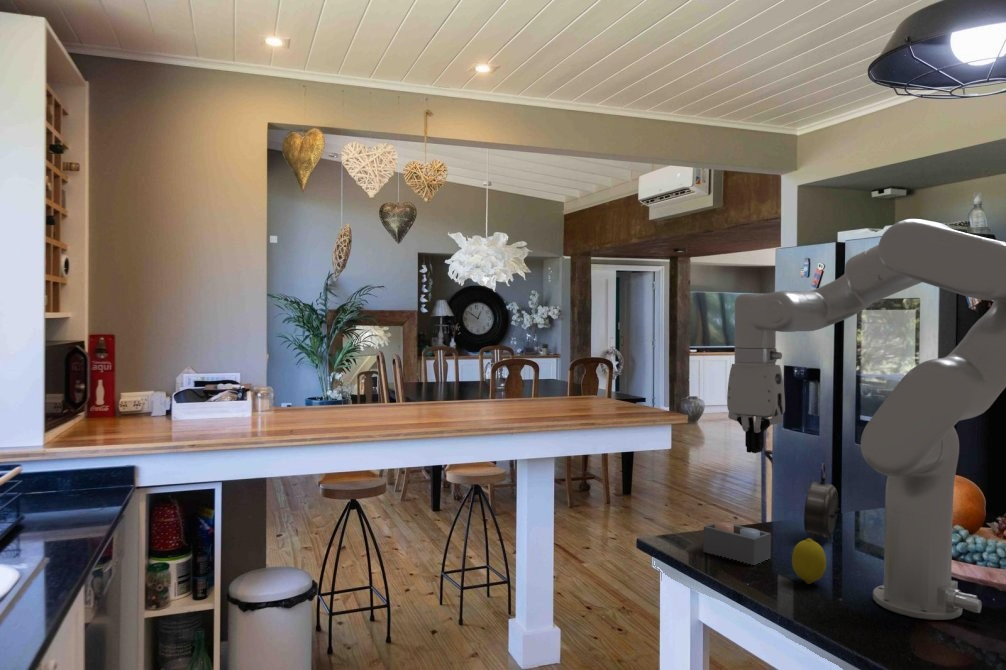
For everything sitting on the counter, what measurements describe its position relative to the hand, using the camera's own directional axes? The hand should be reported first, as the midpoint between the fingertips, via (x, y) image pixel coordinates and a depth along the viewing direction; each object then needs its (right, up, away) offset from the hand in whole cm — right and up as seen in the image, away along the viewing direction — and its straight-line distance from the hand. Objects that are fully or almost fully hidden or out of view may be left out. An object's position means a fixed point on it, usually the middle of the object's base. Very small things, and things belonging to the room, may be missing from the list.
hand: (754, 451), depth 142 cm
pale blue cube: (-1, -19, -1) cm, 19 cm away
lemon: (+5, -21, -14) cm, 26 cm away
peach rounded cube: (-5, -19, +3) cm, 20 cm away
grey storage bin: (-3, -20, +1) cm, 21 cm away
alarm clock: (+18, -21, +11) cm, 29 cm away
